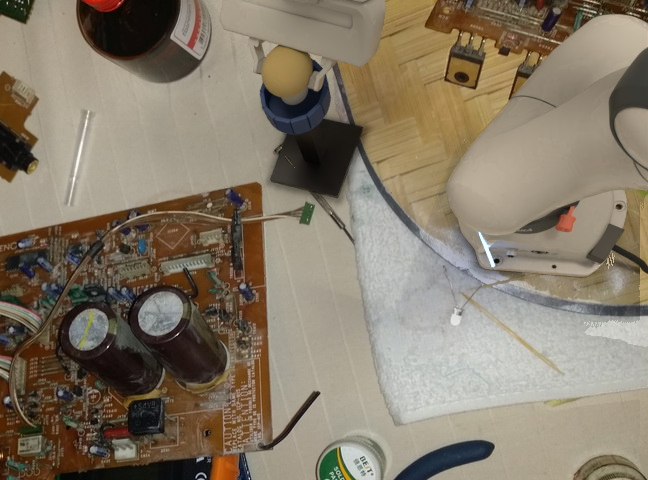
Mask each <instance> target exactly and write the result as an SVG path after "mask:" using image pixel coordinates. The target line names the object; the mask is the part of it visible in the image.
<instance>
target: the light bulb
mask: <svg viewBox="0 0 648 480" xmlns="http://www.w3.org/2000/svg"><path fill="white" fill-rule="evenodd" d="M265 57H266V58H265V60H264V63H263V65H262V71H261V74H262V75H261V80H262V83H264V85H265V87H266V88H267V89H268V91H269V92H271V93H272V94H274V95H275V96H278V97H281V98H282V100H283V101H284V102H285V103H286V104H289V105H296V104H299V103H301V102H302V101H303V100H304V99H305V98H306V96H307V93H308V89H307V84H308V83H309V82H308V81H309V76H310V75H311V74H312V71H313V64H312V60H311V58H312V57H311V54H310V53H307V52H303V51H299V50H296V49H292V48H289V47H285V46H281V45H278V44H277V45H276V46H274V47H273V48H272V49H271V50H270V51H269V53H267V54H266V56H265Z"/></svg>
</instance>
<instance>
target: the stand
mask: <svg viewBox="0 0 648 480" xmlns="http://www.w3.org/2000/svg"><path fill="white" fill-rule="evenodd" d="M363 132H364V126H361V125H356V124H353V123H347V122H342V121H338V120H333V119H328V118H324V119H323V120H322V121H321V122H320V123H319V124H318V125H317V126H316V127H315V128H313V129H312V130H310V131H308V132H305V133H302V134H295V135H293V134H286V133H285V136H284V139H283V142H282V145H281V148H282V149H281V148H280V151H279V153H278V156H277V159H276V162H275V165H274V167H273V170H272V173H271V175H270V179H269V181H270V182H271V183H274V184H279V185H283V186H287V187H290V188H295V189H299V190H303V191H306V192H310V193H315V194H319V195H322V196H326V197H331V198H334V199H339V197H340V194H341V191H342V189H343V186H344V183H345V181H346V178H347V175H348V172H349V170H350V167H351V164H352V161H353V159H354V156H355V154H356V151H357V148H358V146H359V143H360V140H361V137H362V135H363ZM285 156H287V157H288V158H289V159H290V160H291V162H292V163H293V165H292V166H291V165H290V164H289V163H288V162H287V161H286V159H285V158H286V157H285ZM294 167H295V168H294Z"/></svg>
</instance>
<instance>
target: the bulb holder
mask: <svg viewBox="0 0 648 480" xmlns="http://www.w3.org/2000/svg"><path fill="white" fill-rule="evenodd" d="M311 60H312V64H313V71H312V73H313V72H314V71H317V72H320V71H321V70H322V69H323V68H324V67H323V66H322V65H321V64H320V63H318V61H317V60H316V59H314V58H312V57H311ZM259 99H260V104H261V108H262V111H263V113H264V115H265V117H266V119H267V121H268V122H269V123H270V124H271V125H272V126H273V128H274V129H276V130H278V132H280V133H283V134H285V135H286V134H293V135H295V134H302V133H305V132H308V131H310V130H312V129H313V128H315V127H316V126H317V125H318V124H319V123H320V122H321V121H322V120H323V119H325V117H326V116H327V114H328V113H329V109H330V107H331V101H332V95H331V90H330V85H329V80H328V76H327V74H326V75H325V77H324V81H323V85H322V87H321V89H320V90H319V91H318V92H317V91H314V90H311V89H308V93H307V96H306V98H305V99H304V100H303V101H302V102H301V103H299V104H296V105H289V104H286V103H285V102H284V101H283V100H282V98H281V97H278V96H275V95H274V94H272V93H271V92H269V91H268V89H267V88H266V87H265V85H264V83H263V82H262V83H261V86H260V89H259Z"/></svg>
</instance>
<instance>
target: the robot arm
mask: <svg viewBox="0 0 648 480" xmlns="http://www.w3.org/2000/svg"><path fill="white" fill-rule="evenodd" d="M386 7H387V6H386V0H222V2H221V6H220V12H219V22H220V25H221V27H222V29H223V30H224V31H227V32H231V33H233V34H234V33H235V34H237V35H241V36H245V37H249V39H248V48H249V50H250V53H251V57H252V60H253V62H254V63H253V68H252V73H253V74H257V75H261V76H262V74H261V71H262V65H263V63H264V60H265V58H266V57H267V56H265V51H264V47H263V44H264V43H265V42H267V43H270V44H274V45H277V46H278V45H281V46H285V47H289V48H292V49H296V50H299V51H303V52H307V53H309V55H314V56H318V57H321V60H320V66H322V68H323V69H322V70H321V71H320V72H317V71H314V72H313V73H312V74H311V75H310V76H309V81H308V82H309V83H308V84H307V89H311V90H314V91H317V92H318V91H319V90H320V89H321V87H322V85H323V81H324V77H325V75H327V74H328V72H330V70H332V68H333V67H335V65H336V64H337V63H338V62H340V63H342V64H347V65H351V66H353V67H354V66H355V67H358V68H361V67H363V66H365V65H366V64H368V63H370V61H371V60H373V58H374V57H375V56H376V55H377V53H378V50H379V47H380V44H381V40H382V35H383V30H384V24H385V19H386V18H385V17H386V11H387V10H386ZM626 191H648V22H646V21H645V20H643V19H640V18H638V17H635V16H632V15H627V14H621V13H612V14H611V13H609V14H603V15H597V16H595V17H593V18H591V19H590V20H588V21H587V22H585V24H583V25H582V26H581V27H579V28H578V29H577V30H575V31H574V32H573V33H572V34H570V35H569V36H568V37H567V38H566V39H565V40H563V41H562V42H561V43H560V44H559V45H558V46H557V47H555V48H554V49H553V50H552V51H550V53H549V54H548V55H547V56H545V59H544V60H542V62H541V63H540V64H539V65H538V67H536V69H535V70H533V72H532V74H530V75H529V77H528V78H527V79H526V80H525V81H524V82H523V84H522V85H521V86H520V87H519V88H518V89H517V91H516V92H515V93H514V94H513V95H512V96H511V97H510V99H508V101H507V102H506V103H505V104H504V105H503V107H502V108H501V109H500V110H499V112H497V114H496V115H495V116H494V117H493V118H492V120H490V121H489V123H488V124H487V125H486V126H485V127H484V129H482V131H481V132H479V134H478V136H477V137H476V138H474V140H473V141H472V142H471V143H470V144H469V146H468V147H467V148H466V150H465V151H464V153H463V155H462V157H461V158H460V159H459V161H458V163H457V164H456V166H455V167H454V169H453V171H452V173H451V175H450V176H449V178H448V180H447V181H446V183H445V194H446V200H447V203H448V205H449V208H450V210H451V212H452V213H453V215H454V217H456V218H457V222H458V227H459V229H460V231H461V234H462V236H463V237H464V239H465V240H466V241H467V242H468V244H470V245H471V247H472V248H473V250H474V252H475V256H476V258H477V262H478V264H479V266H480V267H481V268H483V269H484V270H491V271H492V270H493V271H503V272H505V271H506V272H515V273H517V272H518V273H527V274H537V275H539V274H540V275H551V276H563V277H575V278H587V277H589V276H591V275H592V274H594V273H595V272H597V271H598V270H599V269H600V268H601V267H602V266H603V265H604V264H605V262H607V260H608V258H610V256H611V255H612V253H613V252H614V253H617V254H619V255H620V256H622V257H624V258H626V259H628V260H629V261H631V262H633V263H634V264H636V265H637V266H638V267H639V268H640V270H641V271H642V272H643V273H645V274H646V275H648V264H647V263H646V261H644V259H642V258H640V256H637V255H636V254H634V253H632V252H630V251H628V250H627V249H626V248H624V247H621V246H619V245H617V244H618V241H619V239H620V238H621V237H622V235H623V233H624V232H625V228H624V225H625V223H626V219H627V213H628V197H627V194H626ZM617 206H620V209H617ZM495 260H498V261H499V262H498V263H496V262H495ZM553 267H554V268H553Z"/></svg>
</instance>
